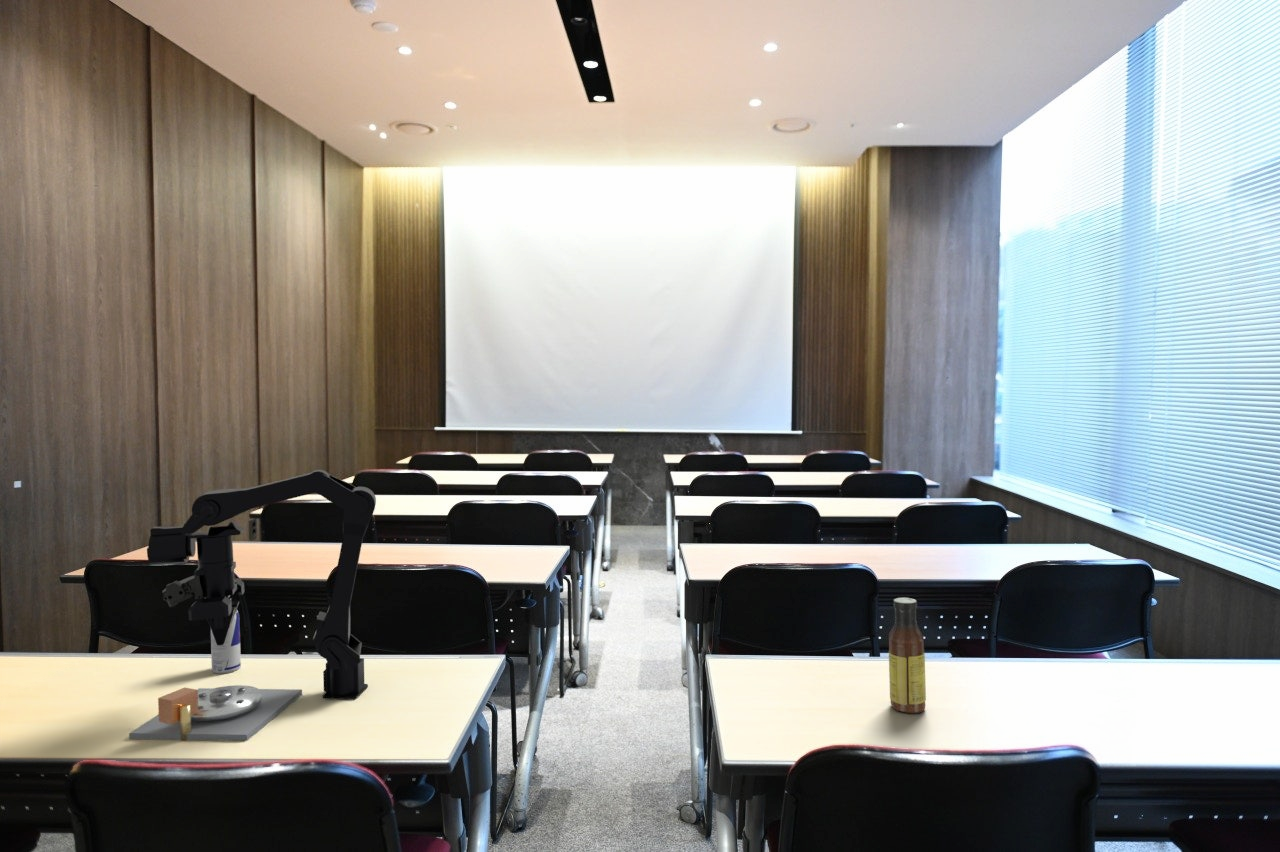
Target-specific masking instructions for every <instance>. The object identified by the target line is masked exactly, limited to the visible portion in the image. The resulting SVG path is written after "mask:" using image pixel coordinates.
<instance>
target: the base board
mask: <svg viewBox="0 0 1280 852" xmlns="http://www.w3.org/2000/svg"><path fill="white" fill-rule="evenodd" d="M208 689H212V688H210V687H209V688H206V687H205V688H202V687H200V688H197V689H196V690H198V692H201V691H205V690H208ZM258 689H259V690H260V691H261V703H260V704H259V705H258V706H257V707H256V708H254V709H252V710H250V711H248V712H246V713H243V714H240V715H237V716H234V717H230V718H225V719H220V720H212V721H192V720H191V732H190V733H188V734H187V740H186V741H236V742H237V741H243V742H246V741H249V740H250V739H251V738H252V737H253V736H254V735H256V734H257V733H258V732H259V731H261V730H262V728H264V727H265V726H266V725H268V724H269V723H270V722H272V720H274V719H275V718H277V716H278V715H280V714H281V713H282V712H283V711H285V710H286V709H287V708H288V707H289V706H290V705H292V704H293V703H294V702H295V701H296V700H297V699H299V698H300V697H301V696H302V695H303V689H293V688H292V689H290V688H289V689H280V688H278V689H275V688H273V689H272V688H258ZM128 737H129V740H167V741H168V740H173V741H174V740H175V741H177V740H179V741H182V740H181V734H180V721H178V722H176V723H174V724H168V723H163V722H159V713H158V714H157V715H155V716H154V717H152V718H151V719H149V720H148V721H146V722H144V723H143V724H141V725H140V726H138V727H137V728H135V729H133V730H131V731H130V732H129V733H128Z"/></svg>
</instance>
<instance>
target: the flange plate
mask: <svg viewBox="0 0 1280 852" xmlns="http://www.w3.org/2000/svg"><path fill="white" fill-rule="evenodd" d="M259 689H260V688H258V687H255V686H252V685H251V686H250V685H241V684H240V685H239V684H238V685H236V684H235V685H226V686H225V685H224V686H219V687H213V688H212V689H208V690H205V691H201V692H198V690H197V689H196V688H195V689H194V688H189V687H183V688H180V689H178V690H175V691H172V692H170V693H167V694H165V695H162V696H159V697H158V698H157V703H158V714H159V722H163V723H168V724H174V723H176V722H178V721H180V706H181V705H184V704H190V705H191V720H192V721H212V720H220V719H225V718H230V717H234V716H237V715H240V714H243V713H246V712H248V711H250V710H252V709H254V708H256V707H257V706H258V705H259V704H260V703H261V691H260V690H259Z"/></svg>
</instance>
